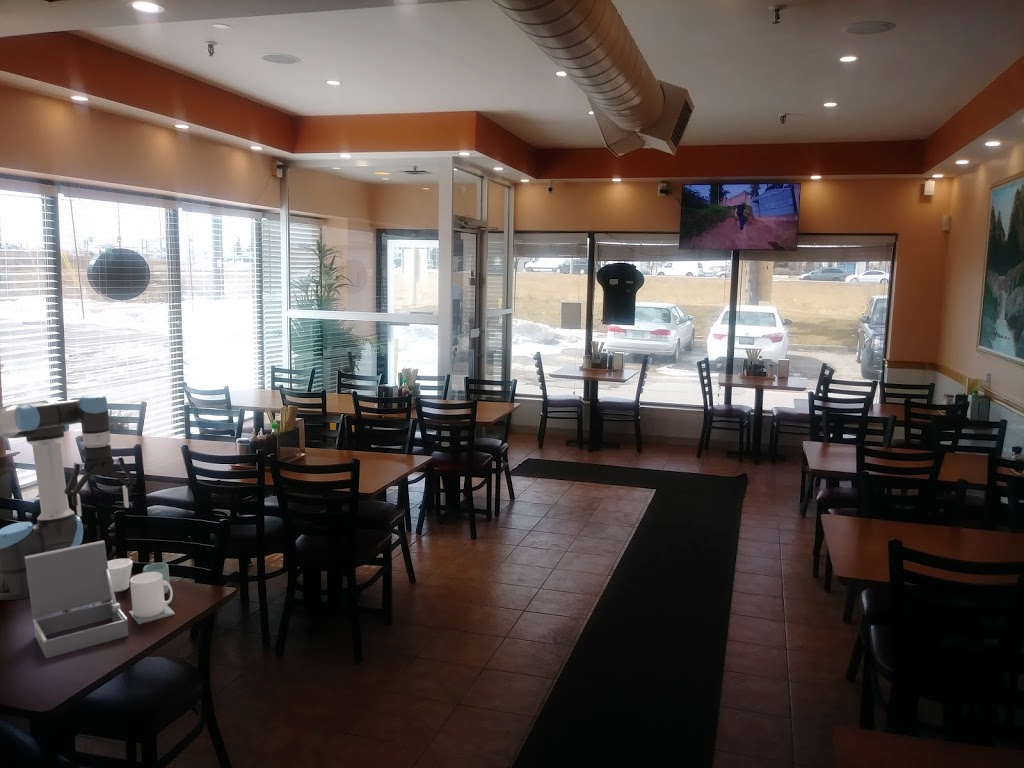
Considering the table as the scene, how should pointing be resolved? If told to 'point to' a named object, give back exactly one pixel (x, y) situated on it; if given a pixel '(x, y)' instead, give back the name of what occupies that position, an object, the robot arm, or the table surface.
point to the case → (80, 619)
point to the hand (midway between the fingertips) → (103, 511)
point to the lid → (67, 578)
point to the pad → (165, 613)
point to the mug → (148, 594)
